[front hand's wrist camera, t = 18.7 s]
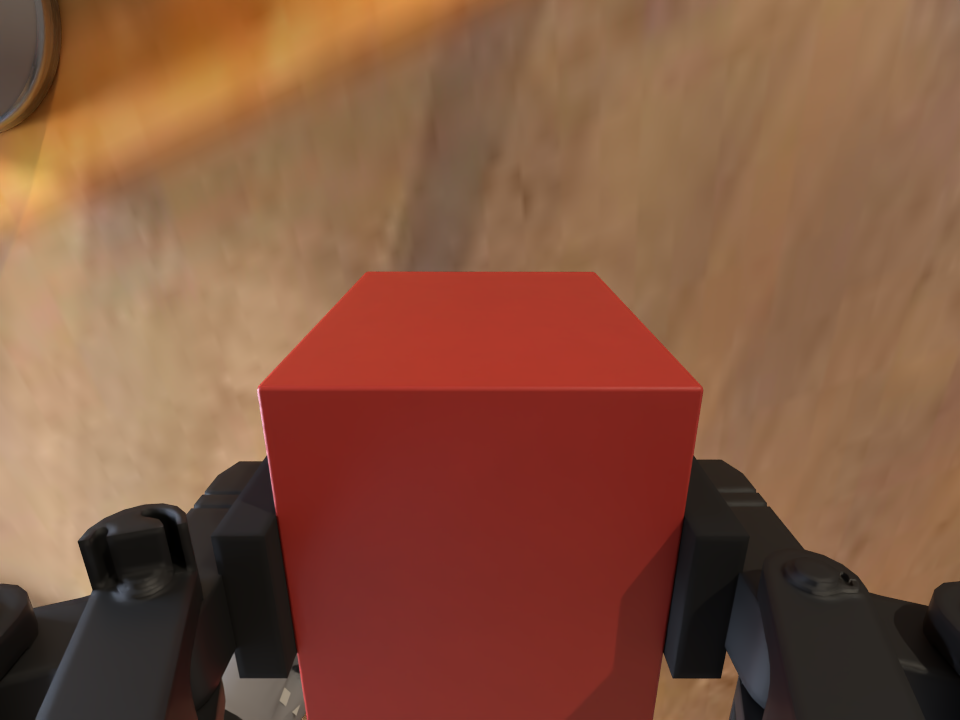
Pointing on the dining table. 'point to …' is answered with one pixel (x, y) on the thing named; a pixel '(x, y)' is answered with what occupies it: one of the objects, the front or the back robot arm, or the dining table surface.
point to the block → (480, 498)
